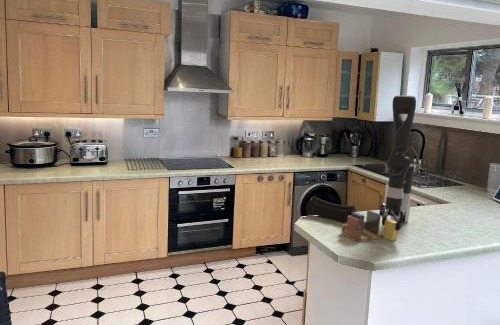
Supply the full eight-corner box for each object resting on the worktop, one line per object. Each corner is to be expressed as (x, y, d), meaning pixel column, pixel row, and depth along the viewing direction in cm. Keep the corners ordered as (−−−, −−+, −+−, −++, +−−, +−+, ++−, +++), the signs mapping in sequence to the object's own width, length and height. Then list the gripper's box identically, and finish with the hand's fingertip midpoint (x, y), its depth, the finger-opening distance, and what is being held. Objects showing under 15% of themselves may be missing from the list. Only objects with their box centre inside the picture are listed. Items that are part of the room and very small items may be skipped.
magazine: (363, 209, 224) (316, 184, 238) (361, 210, 222) (314, 185, 236) (352, 236, 230) (306, 210, 244) (349, 237, 227) (304, 211, 241)
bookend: (366, 228, 216) (369, 210, 214) (378, 233, 209) (380, 214, 208) (365, 228, 216) (367, 210, 214) (376, 234, 209) (379, 214, 207)
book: (388, 236, 211) (390, 219, 210) (396, 239, 207) (398, 222, 205) (383, 237, 210) (385, 219, 208) (391, 240, 205) (393, 223, 203)
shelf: (365, 229, 219) (368, 208, 217) (383, 237, 209) (385, 215, 207) (341, 233, 210) (343, 212, 208) (358, 242, 200) (360, 219, 198)
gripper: (411, 199, 200) (407, 231, 203) (388, 192, 212) (385, 222, 215) (400, 200, 196) (396, 233, 199) (378, 193, 209) (374, 224, 211)
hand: (390, 227), depth 207 cm, fingers open, 8 cm apart
